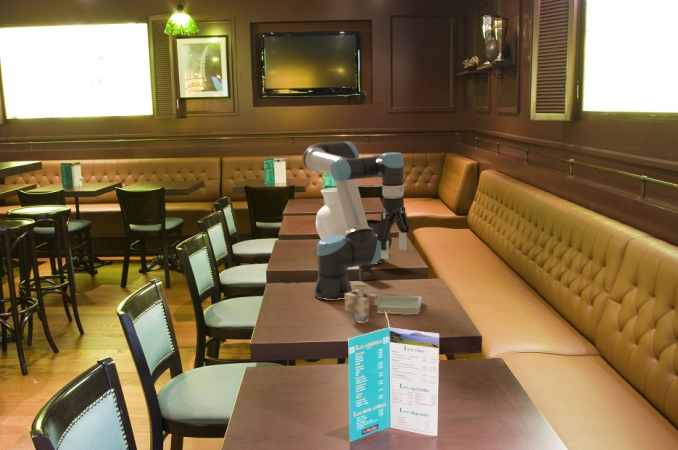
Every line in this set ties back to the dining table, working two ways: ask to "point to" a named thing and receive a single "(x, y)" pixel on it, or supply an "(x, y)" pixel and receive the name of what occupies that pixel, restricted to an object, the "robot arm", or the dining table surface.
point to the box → (366, 272)
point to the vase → (331, 215)
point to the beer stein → (375, 226)
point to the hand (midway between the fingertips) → (394, 254)
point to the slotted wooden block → (361, 303)
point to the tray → (399, 304)
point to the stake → (360, 293)
